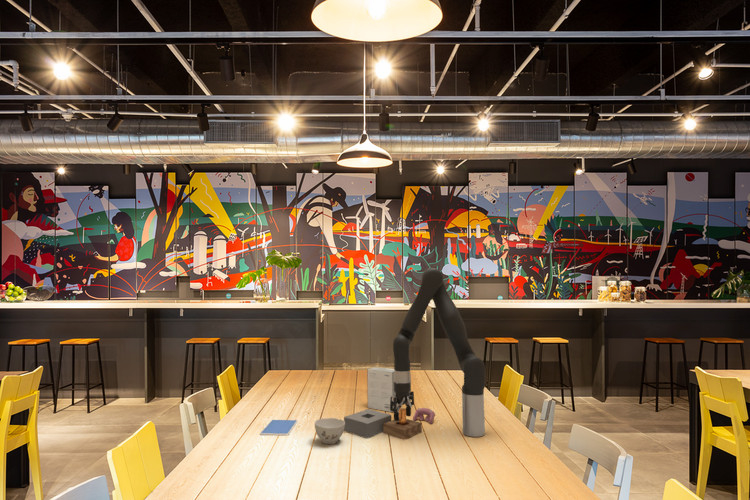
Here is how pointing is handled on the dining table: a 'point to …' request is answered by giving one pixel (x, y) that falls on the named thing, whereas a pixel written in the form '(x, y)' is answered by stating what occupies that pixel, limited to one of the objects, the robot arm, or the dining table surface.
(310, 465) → the dining table surface
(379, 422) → the dock socket
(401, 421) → the pin
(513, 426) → the dining table surface
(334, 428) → the teacup
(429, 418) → the video game controller
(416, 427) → the pin mount
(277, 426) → the blue book
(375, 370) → the hard drive box
